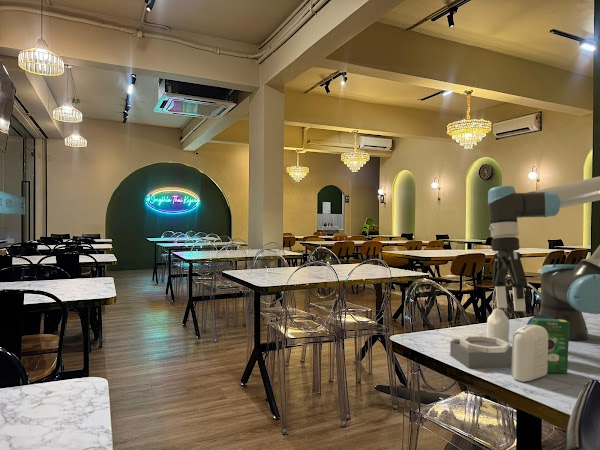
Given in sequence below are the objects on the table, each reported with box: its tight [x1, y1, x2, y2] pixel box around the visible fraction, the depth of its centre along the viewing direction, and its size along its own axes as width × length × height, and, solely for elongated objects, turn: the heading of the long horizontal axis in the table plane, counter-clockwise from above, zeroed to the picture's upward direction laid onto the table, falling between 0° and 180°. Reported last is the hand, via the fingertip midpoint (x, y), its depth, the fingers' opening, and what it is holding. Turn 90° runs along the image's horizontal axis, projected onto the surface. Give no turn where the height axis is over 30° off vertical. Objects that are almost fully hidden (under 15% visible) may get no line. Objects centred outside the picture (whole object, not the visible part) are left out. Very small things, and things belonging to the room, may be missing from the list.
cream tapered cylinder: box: [486, 307, 510, 344], centre depth 124 cm, size 6×12×6 cm
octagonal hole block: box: [449, 334, 512, 369], centre depth 113 cm, size 14×11×5 cm
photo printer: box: [511, 324, 548, 383], centre depth 101 cm, size 10×4×12 cm, turn 122°
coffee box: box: [531, 317, 570, 375], centre depth 105 cm, size 8×3×13 cm, turn 86°
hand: (510, 309), depth 124 cm, fingers open, 13 cm apart
